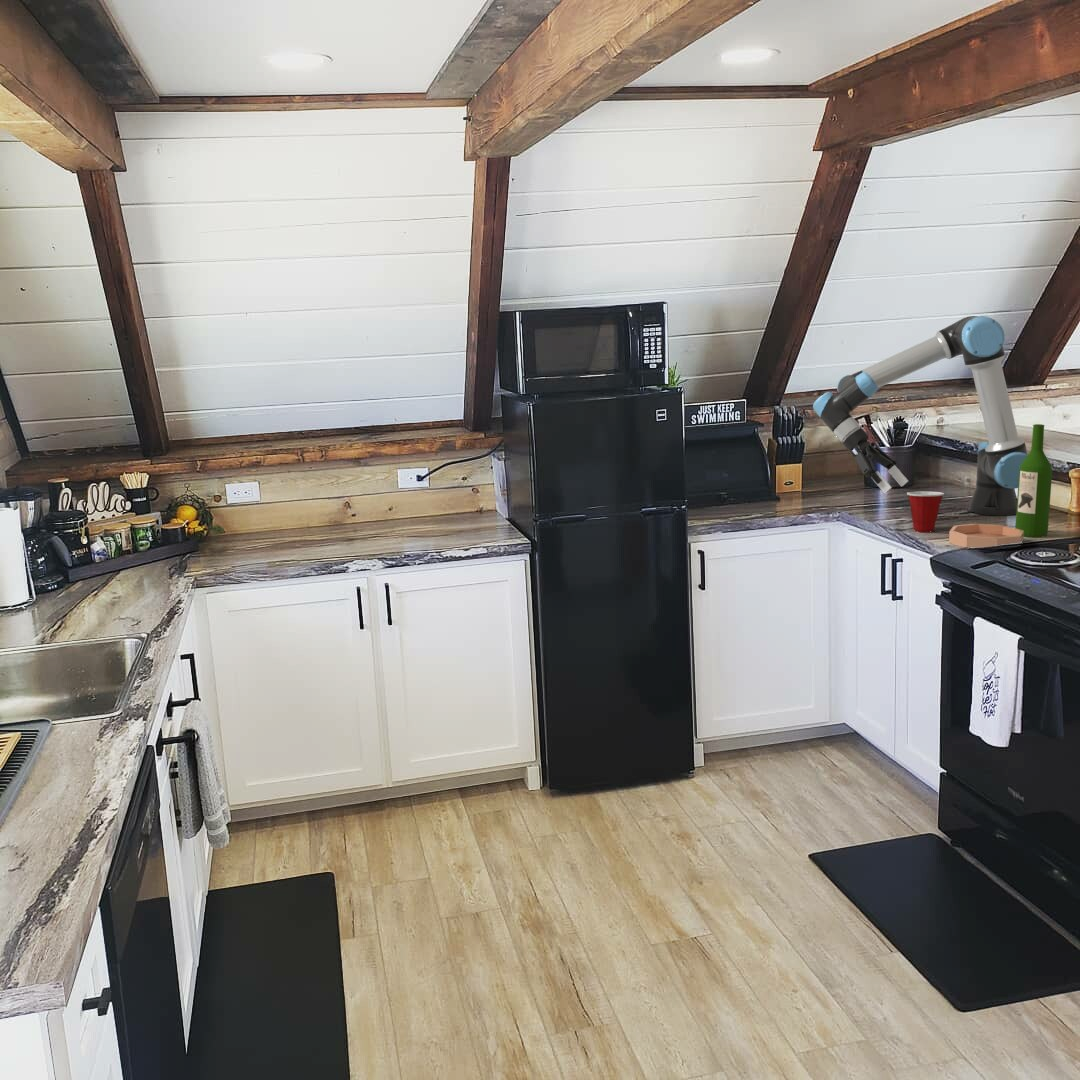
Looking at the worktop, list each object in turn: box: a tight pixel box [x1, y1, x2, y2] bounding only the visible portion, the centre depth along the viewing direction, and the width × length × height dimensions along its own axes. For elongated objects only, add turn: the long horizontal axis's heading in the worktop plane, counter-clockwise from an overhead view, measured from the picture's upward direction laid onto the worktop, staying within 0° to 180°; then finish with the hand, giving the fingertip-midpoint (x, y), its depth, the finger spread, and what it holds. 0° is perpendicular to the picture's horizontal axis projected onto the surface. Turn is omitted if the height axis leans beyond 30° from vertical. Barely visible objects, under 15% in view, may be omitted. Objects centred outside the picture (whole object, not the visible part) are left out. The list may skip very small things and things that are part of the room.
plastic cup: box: [906, 491, 945, 533], centre depth 340 cm, size 11×11×12 cm
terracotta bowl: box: [948, 523, 1024, 548], centre depth 323 cm, size 19×19×4 cm
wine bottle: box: [1014, 423, 1053, 538], centre depth 329 cm, size 9×9×32 cm
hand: (896, 487), depth 343 cm, fingers open, 13 cm apart
